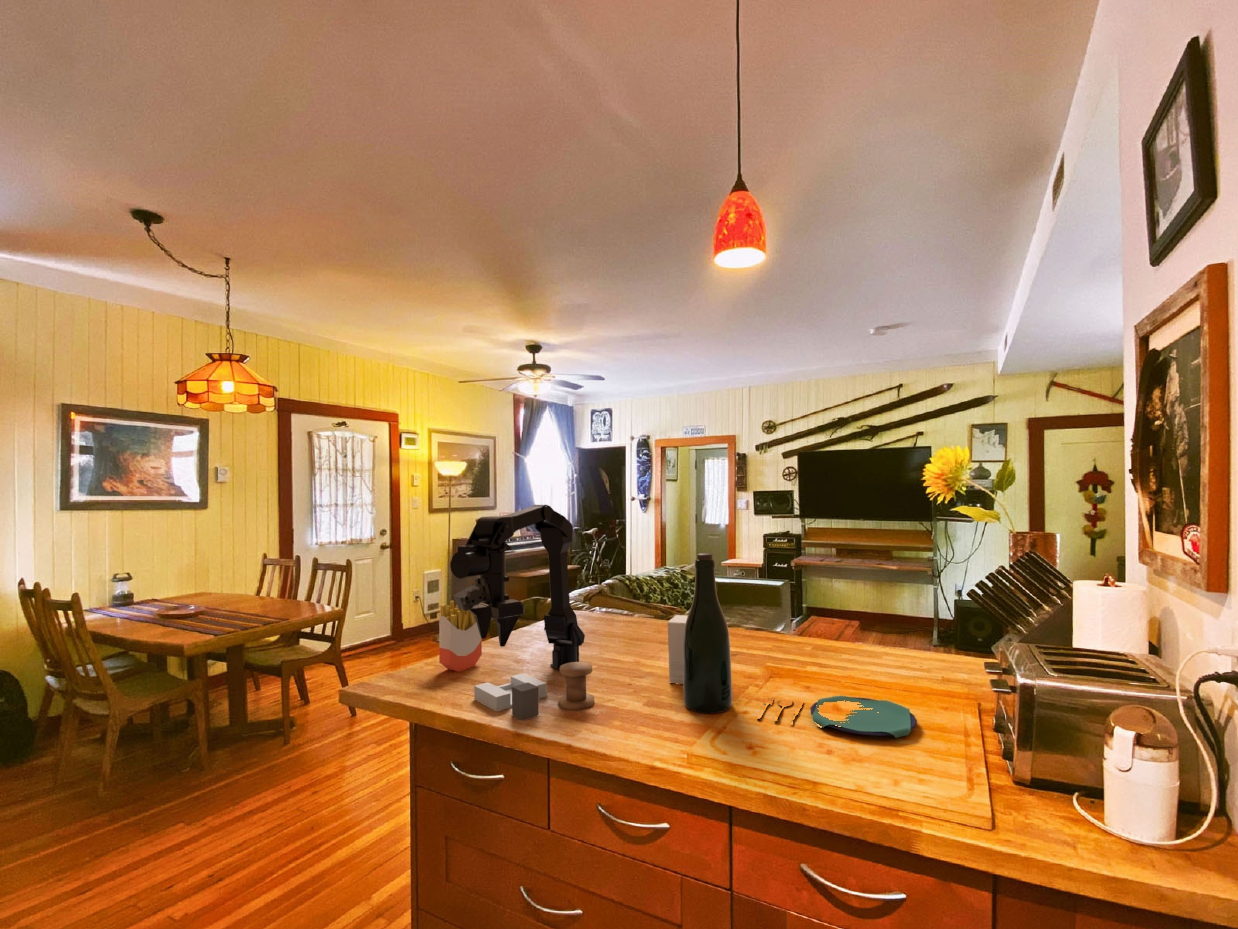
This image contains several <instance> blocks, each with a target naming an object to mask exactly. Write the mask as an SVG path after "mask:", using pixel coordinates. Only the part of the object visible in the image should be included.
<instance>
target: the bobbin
mask: <svg viewBox="0 0 1238 929" xmlns="http://www.w3.org/2000/svg"><path fill="white" fill-rule="evenodd" d="M592 672H593V665H592V664H591V663H589V662H583V661H579V662H570V663H566V664H563V665H561V666H560V670H559V674H561V675H562V676H565V679H566V680H565V682H566V684H565V686H566V688H565V690H566V693H565V694H562V695H561V696H559V697H558V698H557V699H558V700H557V701H558V702H557V705H558V707H559V708H561V709H562V710H563V709H564V710H568V711H580V710H585V709H586V710H587V709H589V708H591V707H594V705H595V696H594V695H593V694H591V693H588V692H587V675H591V674H592Z"/></svg>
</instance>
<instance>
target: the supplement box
mask: <svg viewBox="0 0 1238 929" xmlns="http://www.w3.org/2000/svg"><path fill="white" fill-rule="evenodd" d="M687 617H688V615H682V614H675V615H674V616H673V617H672V618H671V619H670V620H668V622H667V645H668V647H667V648H668V649H667V650H668V677H669V678H668V679H669V681H668V682H671V683H678V684H677V685H680V684H683V644H684V629H685V623H686V620H687Z"/></svg>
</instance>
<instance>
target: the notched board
mask: <svg viewBox="0 0 1238 929" xmlns="http://www.w3.org/2000/svg"><path fill="white" fill-rule="evenodd" d="M527 682H528V683H531V684H533V685H535V686H537V687H538V700H540V698H541V699H543V698H546V697H548V696H547V695H548V694H547V693H548V690H547V688H548V687H547V686H548V684H547V682H545V681H544V680H541V679H538V678H537V677H534V676H531V675H530V674H526V673H524V672H522V673H517V674H515V675H511V676H510V682H508V683H505V684H501V685H495V684H493V683H490V682H483V683H479V684H476V685H473V686H474V688H473V690H474V698H473V699H475V701H476V700H477V701H476V702H478V703H480V702H481V704H482V705H483V706H485V705H486V707H487V708H489V709H490V710H492V709H493V711H494V712H496V713H497V712H500V711H504V710H506V709H509V708H510V709H512V687H513V686H516V685H520V684H524V683H527Z"/></svg>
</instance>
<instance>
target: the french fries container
mask: <svg viewBox="0 0 1238 929" xmlns="http://www.w3.org/2000/svg"><path fill="white" fill-rule="evenodd" d="M449 603H450V605H446V604H440V605H439V606H440V607H439V609H440V614H439V618H438V623H439V624H438V627H439V633H438V634H439V637H438V638H439V640H438V642H439V652H438V656H439V658H438V659H439V664H441V666H443V667H444V668H445V669H447V670H449V671H452V670H453V672H456V671H457V673H459V672H462V671H465V670H468V669H470V668H469V667H471V668H473V667H475V666H476V664H477V663H478V661H479V660H480V658H481V657H482V655H483V654H482V653H483V652H482V647H483V646H482V644H483V642H482V641H483V639H482V638H481V636H480V633H479V630H478V626H477V623H476V620H475V617H474V615H473V614H472V613H471V612H470V611H468V610H467V611H463V609H458V607H457V604H456V605H455V600H450V601H449ZM467 668H468V669H467ZM458 671H459V672H458Z"/></svg>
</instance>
